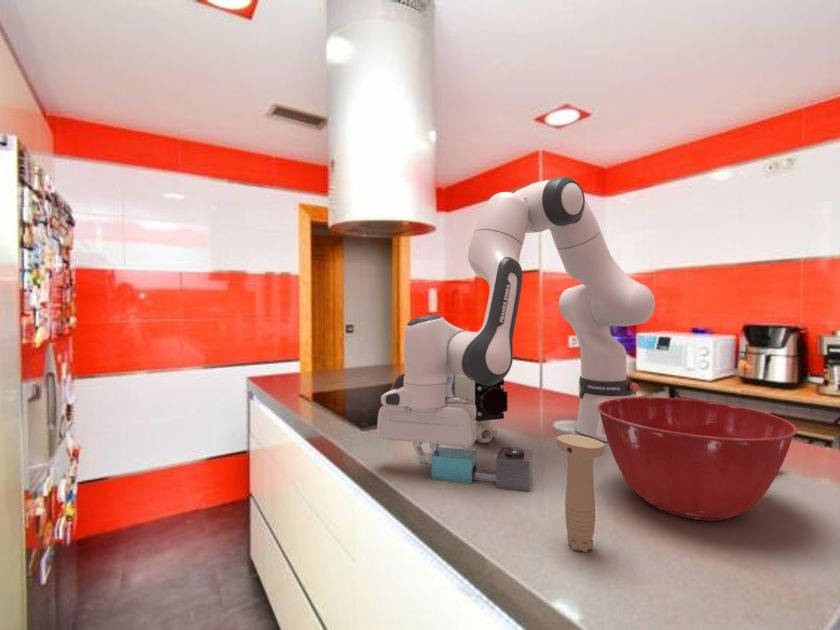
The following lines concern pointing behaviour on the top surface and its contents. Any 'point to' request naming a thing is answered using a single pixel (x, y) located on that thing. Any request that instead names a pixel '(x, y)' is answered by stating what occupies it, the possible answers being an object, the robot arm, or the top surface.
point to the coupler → (509, 469)
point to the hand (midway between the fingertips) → (426, 463)
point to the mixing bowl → (695, 453)
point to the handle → (580, 488)
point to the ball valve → (483, 404)
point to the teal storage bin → (453, 464)
